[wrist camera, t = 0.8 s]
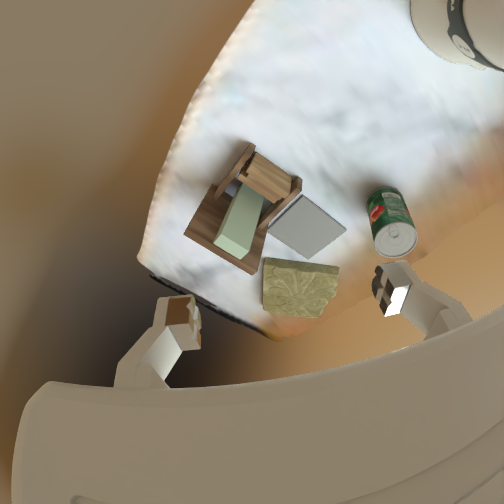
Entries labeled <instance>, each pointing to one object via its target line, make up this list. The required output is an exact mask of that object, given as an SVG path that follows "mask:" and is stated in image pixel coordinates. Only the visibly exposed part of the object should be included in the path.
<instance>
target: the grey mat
mask: <svg viewBox="0 0 504 504" xmlns="http://www.w3.org/2000/svg"><path fill="white" fill-rule="evenodd" d="M345 231H346V228H345V227H343V226H342V225H341V224H340V223H338V222H337V221H336V220H335V219H333V218H332V217H331V216H330V215H328V214H327V213H326V212H325V211H323V210H322V209H321V208H320V207H318V206H317V205H316V204H314V203H313V202H312V201H310V200H309V199H308V198H307V197H305V196H304V195H303V196H301V197H300V198H299V199H298V200H297V201H296V202H295V203H294V204H293V205H292V206H291V207H290V208H289V209H288V210H287V211H286V212H285V213H284V214H283V215H282V216H281V217H280V218H278V219H277V220H276V221H275V222H274V223H273V224H272V225H271V226H270V227H269V228H268V229H267V232H268V233H269V234H271V235H272V236H274V237H275V238H277V239H278V240H280V241H281V242H283V243H284V244H286V245H287V246H289V247H290V248H292V249H293V250H295V251H296V252H298V253H299V254H301V255H302V256H304V257H305V258H307V259H310V258H311V257H312V256H314V255H315V254H316V253H318V252H319V251H320V250H322V249H323V248H324V247H326V246H327V245H328V244H330V243H331V242H332V241H334V240H335V239H336V238H338V237H339V236H340V235H342V234H343V233H344V232H345Z"/></svg>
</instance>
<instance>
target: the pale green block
mask: <svg viewBox="0 0 504 504" xmlns="http://www.w3.org/2000/svg"><path fill="white" fill-rule="evenodd" d="M264 198H265V197H264V196H262V195H261V194H259V193H258V192H256V191H255V190H253V189H252V188H250V187H249V186H247V185H246V184H244V183H243V182H242V183H241V185H240V186H239V187H238V188H237V191H236V193H235V195H234V197H233V199H232V202H231V204H230V206H229V208H228V211H227V213H226V215H225V217H224V220H223V222H222V224H221V226H220V229H219V231H218V233H217V236H216V238H215V240H214V243H213V244H215V245H217V246H218V247H220V248H221V249H223V250H225V251H226V252H228V253H230V254H231V255H233V256H235V257H236V258H238V259H240V260H241V259H242V258H243V257H244V256H245V255H246V254H247V253H248V252H249V250H250V247H251V243H252V240H253V236H254V233H255V229H256V226H257V223H258V219H259V216H260V212H261V209H262V205H263V202H264Z"/></svg>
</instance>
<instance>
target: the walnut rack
mask: <svg viewBox="0 0 504 504" xmlns="http://www.w3.org/2000/svg"><path fill="white" fill-rule="evenodd" d="M255 147H256V146H255V145H254V144H252V143H251V144H250V145H249V147H248V148H247V149H246V150H245V152H244V153H243V154H242V156H241V157H240V158H239V160H238V161H237V162H236V164H235V165H234V166H233V168H232V169H231V170H230V172H229V173H228V174H227V176H226V177H225V178H224V180H223V181H222V182H221V184H220V185H219V187H217V186H215V185H213V184H212V186H211V187H210V189H209V190H208V192H207V194H206V195H205V197H204V199H203V200H202V202H201V204H200V205H199V207H198V209H197V211H196V212H195V214H194V216H193V218H192V219H191V221H190V223H189V225H188V227H187V228H186V230H185V232H184V235H185V236H187V237H188V238H190V239H192V240H193V241H195V242H197V243H198V244H200V245H202V246H203V247H205V248H207V249H208V250H210V251H212V252H213V253H215V254H217V255H218V256H220V257H222V258H223V259H225V260H227V261H228V262H230V263H232V264H233V265H235V266H237V267H239V268H240V269H242V270H244V271H245V272H247V273H249V274H250V275H253V274H255V273H256V272H257V270H258V266H259V262H260V258H261V254H262V250H263V245H264V241H265V237H266V233H267V229H268V224H269V222H270V221H271V220H272V219H273V218H274V217H275V216H276V215H277V214H278V213H279V212H280V211H281V210H282V209H283V208H284V207H286V206H287V205H288V204H289V203H290V202H291V201H292V200H293V199H294V198H295V197H296V196H297V195H298V194H299V193H300V192H301V191H302V179H301V178H300V177H297V178H296V179H295V180H294V181H293V182H292V183H291V187H290V194H289V195H288V196H287V197H286V198H285V199H284V198H283V197H282V198H281V199H280V200H277V201H276V202H275V203H272V204H271V205H270V206H269V207H268V208H267V209H266V210H265V211H264V212H263V213H262V214H261V215H260V216H259V219H258V223H257V226H256V229H255V233H254V236H253V240H252V243H251V247H250V250H249V252H248V253H247V254H246V255H245V256H244V257H243V258H242V259H241V260H240V259H238V258H236V257H235V256H233V255H231V254H230V253H228V252H226V251H225V250H223V249H221V248H220V247H218V246H217V245H215V244H213V243H214V240H215V238H216V236H217V233H218V231H219V229H220V226H221V224H222V222H223V220H224V217H225V215H226V213H227V211H228V208H229V206H230V204H231V202H232V199H233V197H232V196H231V195H229V194H227V193H226V192H224V190H225V189H226V187H227V186H228V185H229V184H230V182H231V181H232V180H233V178H234V177H235V176H236V174H237V173H238V172H239V171H240V169H241V168H242V167H243V165H244V164H245V163H246V162H247V160H248V159H249V158H250V157H251V155H252V153H253V151H254V149H255Z"/></svg>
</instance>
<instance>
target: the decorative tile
mask: <svg viewBox="0 0 504 504" xmlns="http://www.w3.org/2000/svg"><path fill="white" fill-rule="evenodd" d="M339 268H340V267H335V266H329V265H322V264H315V263H307V262H299V261H292V260H284V259H276V258H268V257H267V258H266V259H265V262H264V268H263V309H264V310H265V311H269V312H274V313H278V314H286V315H293V316H302V317H308V318H314V317H316V318H319V317H320V314H322V313H323V309H324V306H325V305H326V304H327V303H328V301H329V299H332V297H334V296H335V295H336V289H337V286H338V283H337V281H338V273H339Z"/></svg>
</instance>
